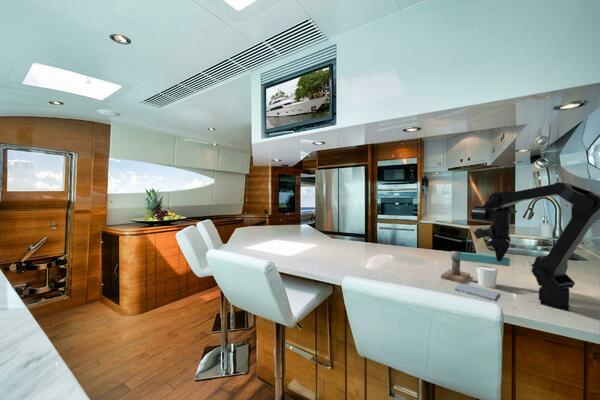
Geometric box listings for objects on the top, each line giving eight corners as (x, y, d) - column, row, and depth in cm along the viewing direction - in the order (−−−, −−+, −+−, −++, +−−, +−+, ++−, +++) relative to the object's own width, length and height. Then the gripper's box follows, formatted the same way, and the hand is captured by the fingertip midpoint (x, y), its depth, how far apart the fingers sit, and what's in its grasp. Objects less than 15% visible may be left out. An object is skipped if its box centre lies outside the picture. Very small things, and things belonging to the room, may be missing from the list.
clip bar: (451, 259, 103) (451, 252, 103) (450, 257, 106) (451, 250, 106) (510, 266, 94) (510, 258, 94) (507, 264, 97) (507, 256, 97)
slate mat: (498, 294, 87) (498, 292, 87) (494, 300, 82) (494, 299, 82) (460, 284, 96) (460, 283, 96) (454, 290, 91) (454, 288, 91)
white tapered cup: (501, 289, 92) (502, 271, 92) (481, 287, 93) (482, 270, 93) (491, 282, 99) (491, 266, 98) (472, 281, 100) (473, 265, 100)
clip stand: (469, 276, 105) (470, 259, 105) (462, 283, 97) (462, 264, 97) (449, 272, 111) (450, 255, 111) (441, 278, 103) (441, 260, 103)
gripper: (478, 220, 107) (477, 253, 107) (472, 222, 94) (471, 261, 94) (511, 222, 99) (509, 258, 100) (509, 225, 86) (508, 267, 86)
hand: (499, 261), depth 95 cm, fingers closed
